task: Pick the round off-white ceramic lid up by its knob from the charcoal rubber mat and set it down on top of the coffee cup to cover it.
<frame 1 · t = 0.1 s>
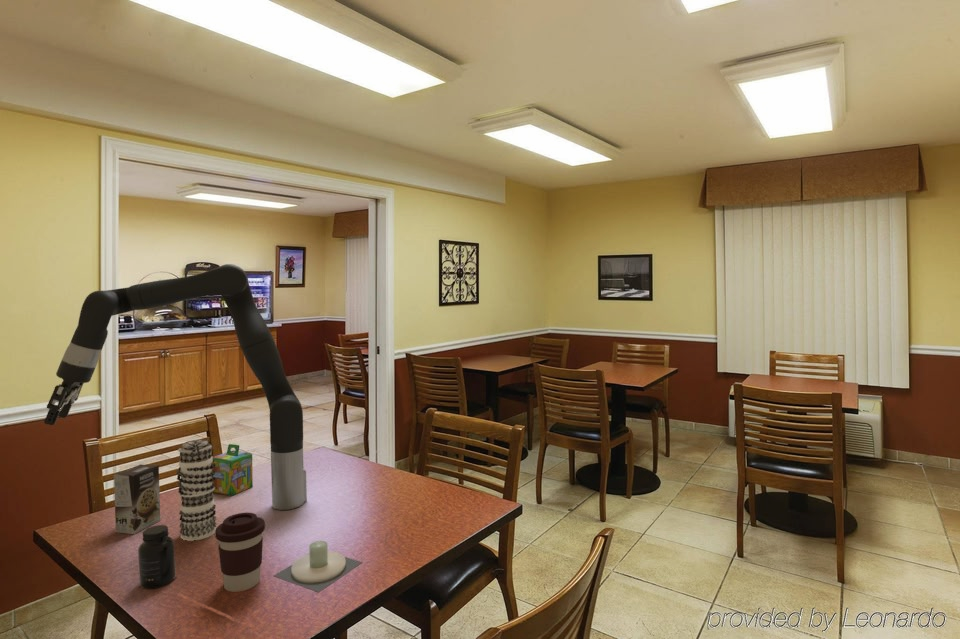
hand: (55, 420, 137), 31 cm above the table, tool tilted 20°, fingers open, 8 cm apart
lid: (318, 568, 121), point 1 cm above the table, touching mat
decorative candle: (198, 534, 141), on the table
chalk box: (232, 490, 172), on the table
mat: (319, 571, 121), on the table
supplement bottle: (157, 582, 118), on the table
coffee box: (139, 527, 145), on the table
coffee cup: (242, 585, 116), on the table
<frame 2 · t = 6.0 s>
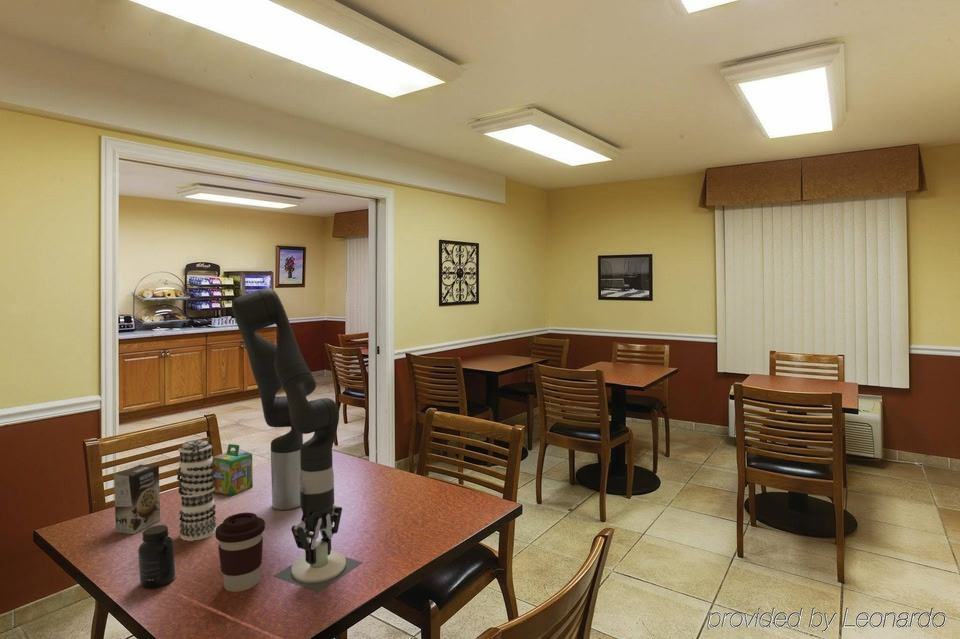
hand: (318, 558, 121), 3 cm above the table, tool pointing down, fingers closed on lid, 4 cm apart
lid: (319, 568, 121), point 1 cm above the table, touching gripper, mat
everything else where it was.
when the fingers open (19 cm above the table, at t = 10.1 s): lid drops 1 cm, resting on coffee cup.
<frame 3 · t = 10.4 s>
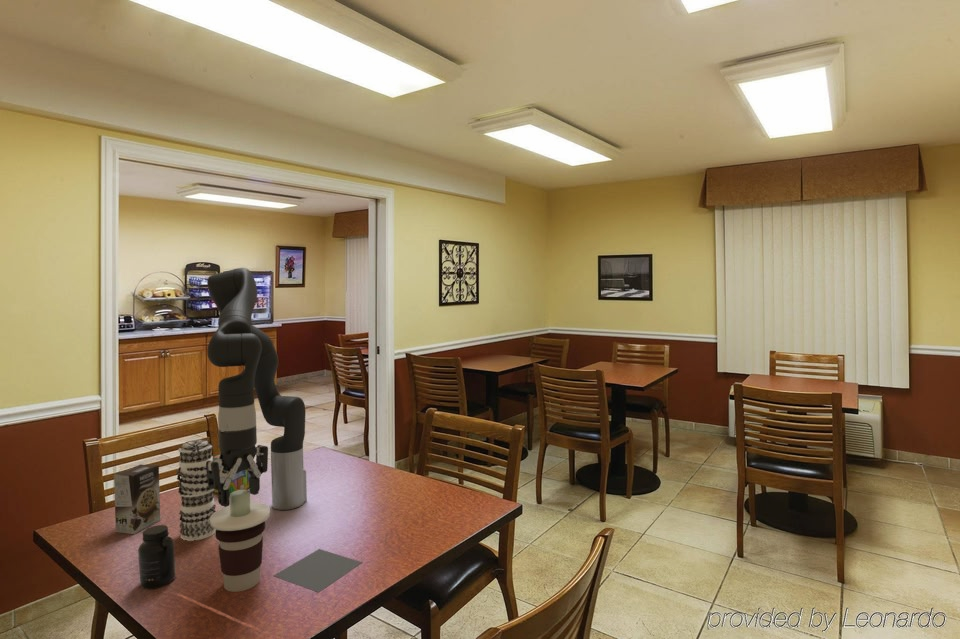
hand: (239, 499, 115), 19 cm above the table, tool pointing down, fingers open, 6 cm apart
lid: (240, 518, 115), point 15 cm above the table, touching coffee cup
coffee cup: (242, 585, 116), on the table, touching lid
everything else where it was.
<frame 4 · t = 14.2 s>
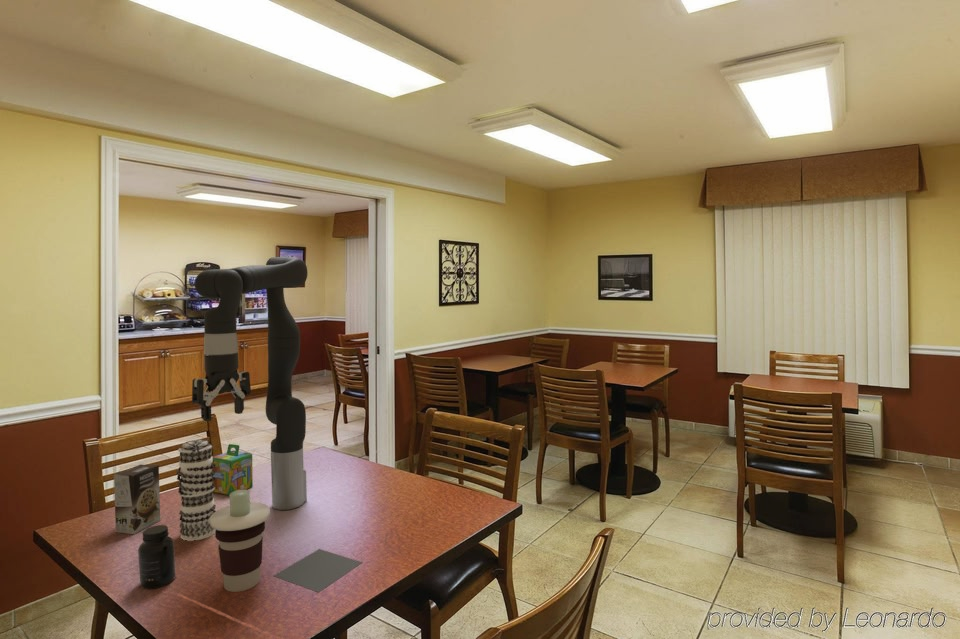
hand: (223, 417, 129), 34 cm above the table, tool pointing down, fingers open, 8 cm apart
nothing on the table moved.
at the end: lid inside the target area on the coffee cup (0.0 cm from its centre), point 15.2 cm above the coffee cup's base; the gripper is holding nothing; coffee cup tilted 0° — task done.
